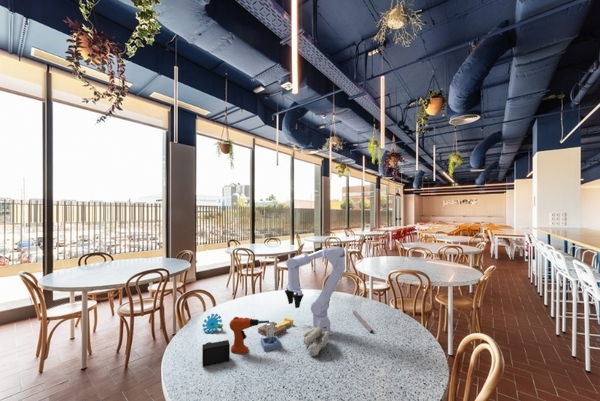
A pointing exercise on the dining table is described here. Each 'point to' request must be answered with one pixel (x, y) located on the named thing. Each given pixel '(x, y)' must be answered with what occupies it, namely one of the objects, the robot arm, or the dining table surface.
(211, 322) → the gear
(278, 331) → the socket
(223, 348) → the digital camera
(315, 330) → the mineral
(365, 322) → the metal rod
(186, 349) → the dining table surface
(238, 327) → the toy drill
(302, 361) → the dining table surface
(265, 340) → the tray
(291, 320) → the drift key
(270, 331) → the gray metallic cylinder
